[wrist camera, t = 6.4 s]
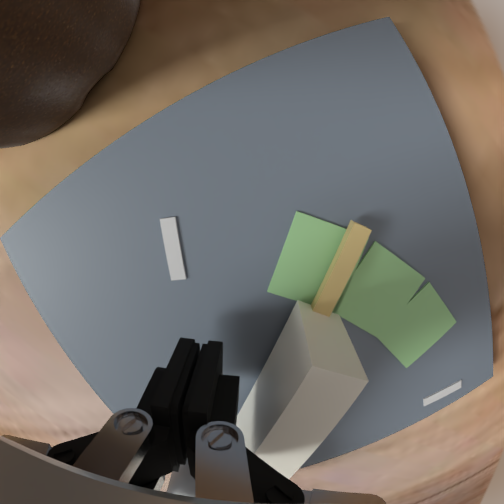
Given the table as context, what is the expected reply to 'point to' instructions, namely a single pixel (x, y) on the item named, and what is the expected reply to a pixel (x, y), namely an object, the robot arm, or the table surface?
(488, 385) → the table surface
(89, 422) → the table surface
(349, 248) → the peg dial
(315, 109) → the board
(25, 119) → the plant pot
